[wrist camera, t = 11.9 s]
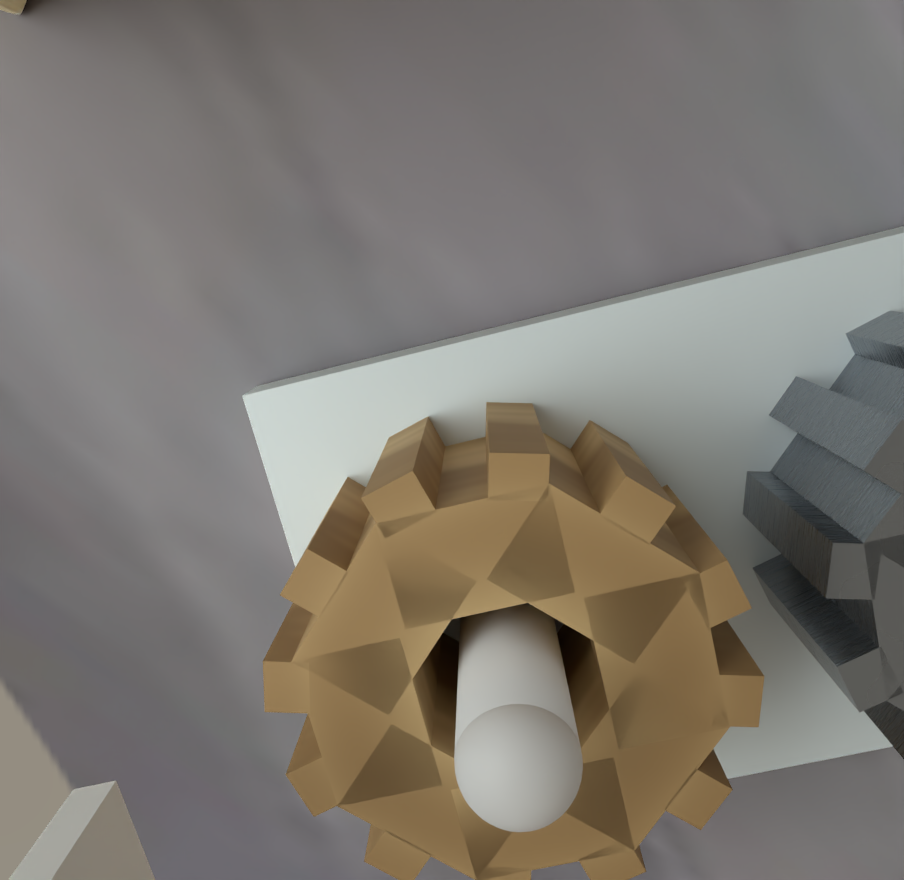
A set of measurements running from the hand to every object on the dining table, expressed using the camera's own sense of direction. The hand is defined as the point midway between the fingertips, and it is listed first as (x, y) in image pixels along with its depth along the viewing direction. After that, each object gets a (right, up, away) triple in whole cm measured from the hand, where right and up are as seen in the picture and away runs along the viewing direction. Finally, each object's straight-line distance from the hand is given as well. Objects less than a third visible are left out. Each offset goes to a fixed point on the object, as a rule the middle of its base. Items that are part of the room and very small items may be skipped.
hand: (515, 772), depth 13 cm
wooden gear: (0, +2, +8) cm, 8 cm away
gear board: (+6, +3, +9) cm, 11 cm away
